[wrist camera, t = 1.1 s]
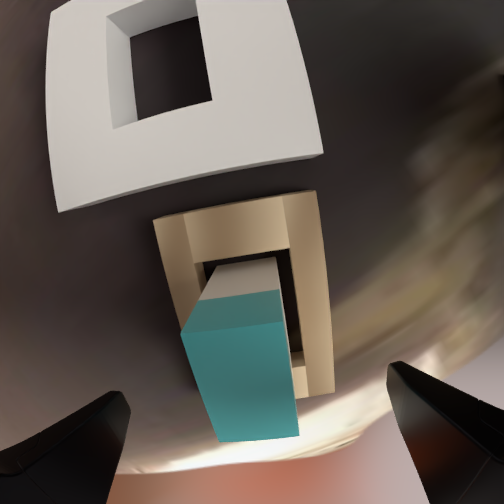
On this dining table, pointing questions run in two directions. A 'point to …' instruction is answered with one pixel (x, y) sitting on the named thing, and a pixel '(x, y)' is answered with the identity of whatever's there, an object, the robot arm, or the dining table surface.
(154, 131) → the port block
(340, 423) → the dining table surface
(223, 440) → the plug
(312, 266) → the holster
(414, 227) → the dining table surface
